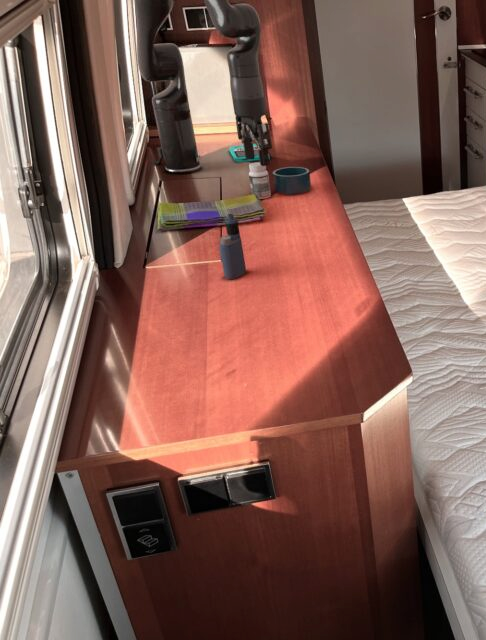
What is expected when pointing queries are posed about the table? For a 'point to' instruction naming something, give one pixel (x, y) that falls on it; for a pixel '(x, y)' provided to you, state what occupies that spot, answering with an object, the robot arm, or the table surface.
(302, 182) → the bowl
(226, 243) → the vaping device
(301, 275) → the table surface
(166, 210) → the dish towel
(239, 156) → the handheld game console
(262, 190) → the pill bottle
